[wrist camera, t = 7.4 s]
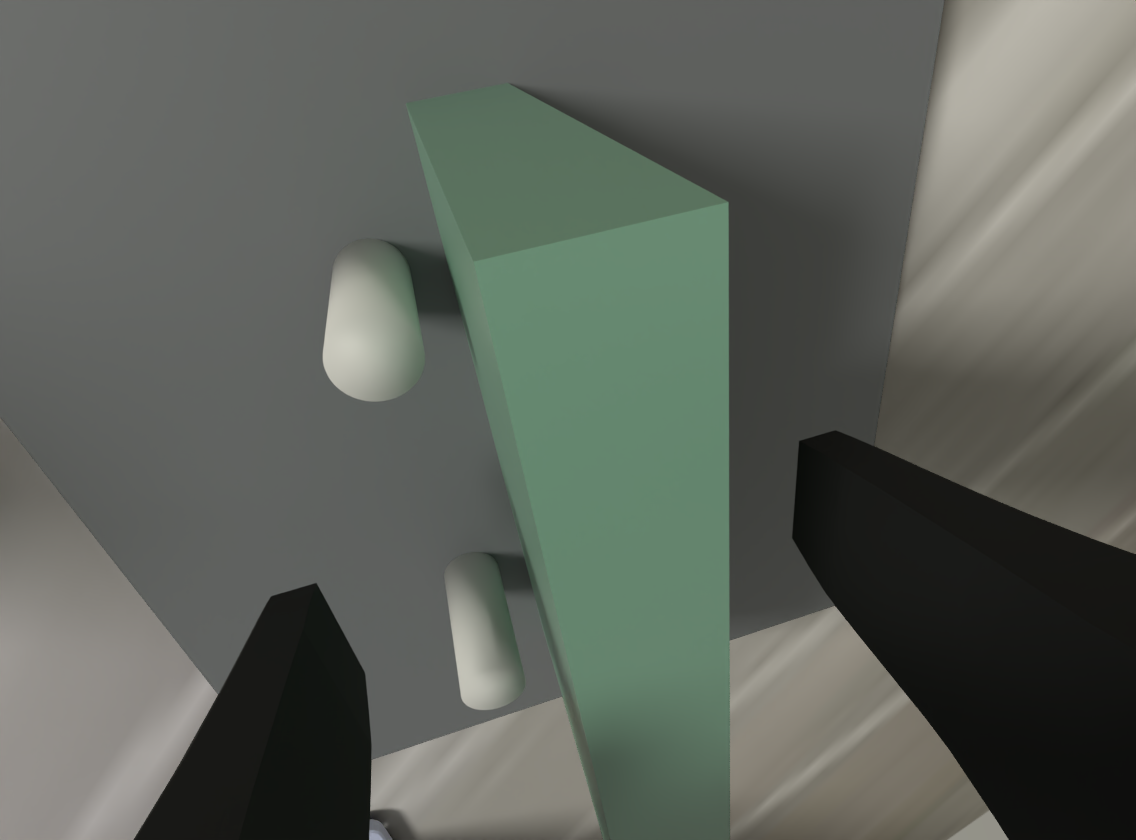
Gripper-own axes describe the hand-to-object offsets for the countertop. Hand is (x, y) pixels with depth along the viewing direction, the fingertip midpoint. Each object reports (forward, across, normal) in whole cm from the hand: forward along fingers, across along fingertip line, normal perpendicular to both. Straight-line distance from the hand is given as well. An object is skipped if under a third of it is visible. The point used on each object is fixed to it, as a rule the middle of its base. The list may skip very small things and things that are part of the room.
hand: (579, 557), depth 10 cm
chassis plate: (+5, 0, 0) cm, 5 cm away
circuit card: (+4, 0, 0) cm, 4 cm away
